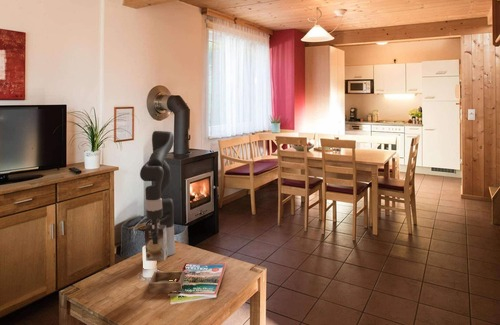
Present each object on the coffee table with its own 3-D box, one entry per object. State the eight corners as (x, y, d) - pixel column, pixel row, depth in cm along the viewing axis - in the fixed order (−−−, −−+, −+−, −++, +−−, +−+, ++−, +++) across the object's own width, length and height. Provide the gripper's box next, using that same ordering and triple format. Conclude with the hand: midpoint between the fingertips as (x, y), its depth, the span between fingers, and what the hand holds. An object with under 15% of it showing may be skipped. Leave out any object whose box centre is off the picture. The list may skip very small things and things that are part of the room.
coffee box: (145, 261, 175) (143, 229, 172) (149, 255, 181) (147, 224, 178) (164, 261, 174) (162, 229, 172) (168, 255, 181) (166, 224, 178)
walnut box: (149, 293, 174) (148, 283, 173) (155, 280, 186) (154, 271, 185) (180, 292, 175) (180, 282, 174) (184, 280, 186) (184, 271, 186)
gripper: (148, 203, 180) (150, 235, 183) (143, 212, 166) (146, 247, 169) (163, 203, 181) (165, 235, 184) (160, 211, 167) (162, 246, 170)
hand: (156, 240), depth 176 cm, fingers closed on coffee box, 7 cm apart
